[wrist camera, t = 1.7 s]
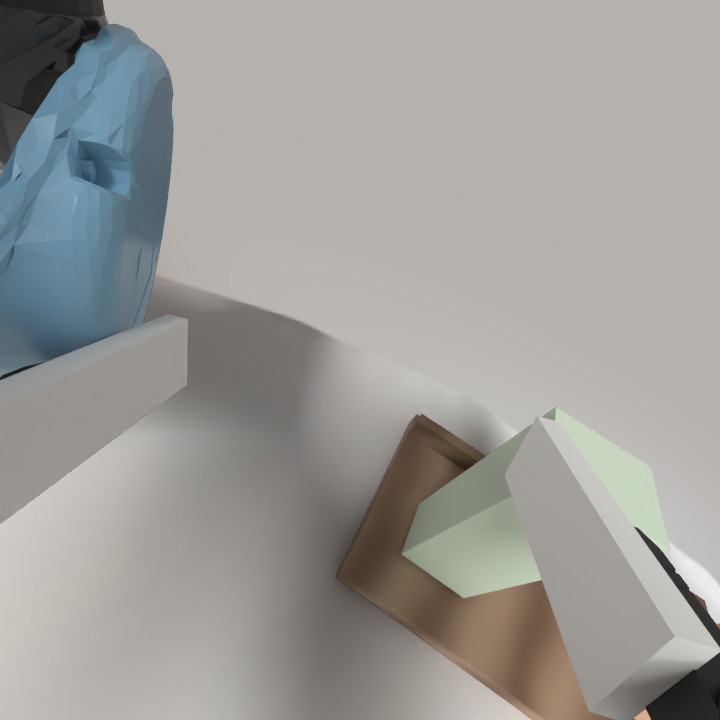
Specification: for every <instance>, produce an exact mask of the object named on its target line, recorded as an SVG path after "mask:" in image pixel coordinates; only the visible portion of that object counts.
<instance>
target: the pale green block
mask: <svg viewBox="0 0 720 720" xmlns="http://www.w3.org/2000/svg"><path fill="white" fill-rule="evenodd" d="M543 418H546V419H550V420H554V421H557V422H559V423H560V424H561V425H562V427H563V428H564V430H565V431H566V432H567V434H568V435H569V437H570V438H571V439H572V441H573V442H574V444H575V445H576V447H577V448H578V449H579V451H580V452H581V454H582V455H583V456H584V458H585V459H586V461H587V462H588V463H589V465H590V466H591V468H592V469H593V470H594V472H595V473H596V475H597V476H598V477H599V479H600V480H601V482H602V483H603V484H604V486H605V487H606V489H607V490H608V491H609V493H610V494H611V496H612V497H613V498H614V500H615V501H616V503H617V504H618V505H619V507H620V508H621V510H622V511H623V513H624V514H625V515H626V517H627V518H628V520H629V521H630V522H631V524H632V525H633V527H637V528H639V529H640V530H641V531H642V532H643V533H644V534H645V535H646V536H647V537H648V538H649V539H651V540H652V541H653V542H654V543H655V544H656V545H657V546H658V547H659V548H660V549H661V551H662V552H663V551H668V550H670V547H669V542H668V538H667V534H666V530H665V526H664V521H663V517H662V512H661V508H660V504H659V500H658V496H657V491H656V487H655V483H654V479H653V474H652V471H651V467H649V466H648V465H646V464H645V463H643V462H642V461H640V460H638V459H637V458H635V457H634V456H632V455H631V454H629V453H627V452H626V451H624V450H623V449H621V448H619V447H618V446H616V445H615V444H613V443H612V442H610V441H608V440H607V439H605V438H604V437H602V436H601V435H599V434H597V433H596V432H594V431H592V430H591V429H589V428H588V427H586V426H585V425H583V424H582V423H580V422H578V421H577V420H575V419H574V418H572V417H570V416H569V415H567V414H566V413H564V412H563V411H561V410H559V409H558V408H556V407H555V408H554V409H552V410H551V411H550V412H548V413H547V414H545V415H544V416H543ZM531 426H532V424H531V425H530V426H528V427H527V428H525V429H524V430H523V431H521V432H520V433H518V434H517V435H516V436H514V437H513V438H511V439H510V440H509V441H507V442H506V443H504V444H503V445H501V446H500V447H499V448H497V449H496V450H494V451H493V452H492V453H490V454H489V455H487V456H486V457H484V458H483V459H482V460H480V461H479V462H477V463H476V464H475V465H473V466H472V467H470V468H469V469H467V470H466V471H465V472H463V473H462V474H460V475H459V476H458V477H456V478H455V479H453V480H452V481H450V482H449V483H448V484H446V485H445V486H443V487H442V488H441V489H439V490H438V491H436V492H435V493H433V494H432V495H431V496H429V497H428V498H426V499H425V500H424V501H422V502H421V503H419V505H418V508H417V511H416V514H415V516H414V519H413V522H412V525H411V527H410V530H409V533H408V536H407V539H406V541H405V544H404V547H403V550H402V552H401V554H402V555H403V556H405V557H406V558H408V559H409V560H410V561H412V562H413V563H415V564H416V565H418V566H419V567H420V568H422V569H423V570H425V571H426V572H427V573H429V574H430V575H432V576H433V577H434V578H436V579H437V580H439V581H440V582H442V583H443V584H444V585H446V586H447V587H449V588H450V589H451V590H453V591H454V592H456V593H457V594H459V595H460V596H461V597H463V598H467V597H471V596H475V595H480V594H484V593H488V592H493V591H497V590H501V589H505V588H510V587H514V586H518V585H522V584H527V583H531V582H535V581H540V580H542V579H541V576H540V574H539V571H538V568H537V565H536V562H535V559H534V557H533V554H532V551H531V548H530V545H529V543H528V540H527V537H526V534H525V531H524V529H523V526H522V523H521V520H520V517H519V514H518V512H517V509H516V506H515V503H514V500H513V498H512V495H511V492H510V489H509V486H508V484H507V481H506V478H505V473H506V471H507V470H508V468H509V466H510V464H511V462H512V461H513V459H514V457H515V455H516V453H517V452H518V450H519V448H520V446H521V444H522V442H523V441H524V439H525V437H526V435H527V433H528V432H529V430H530V428H531Z"/></svg>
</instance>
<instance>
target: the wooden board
mask: <svg viewBox="0 0 720 720" xmlns="http://www.w3.org/2000/svg"><path fill="white" fill-rule="evenodd" d="M484 457H486V456H485V455H483V454H482V453H480V452H479V451H477V450H476V449H474V448H473V447H471V446H470V445H468V444H467V443H465V442H464V441H462V440H461V439H459V438H458V437H456V436H455V435H453V434H452V433H450V432H449V431H447V430H446V429H444V428H443V427H441V426H440V425H438V424H436V423H435V422H433V421H432V420H430V419H429V418H427V417H426V416H424V415H423V414H422V415H421V416H419V415H416V416H415V417H414V418H413V419H412V420H411V422H410V423H409V425H408V427H407V429H406V431H405V433H404V436H403V438H402V440H401V442H400V444H399V446H398V448H397V450H396V452H395V454H394V456H393V458H392V460H391V463H390V465H389V467H388V469H387V471H386V473H385V475H384V477H383V479H382V481H381V483H380V485H379V488H378V490H377V492H376V494H375V496H374V498H373V500H372V502H371V504H370V506H369V508H368V510H367V512H366V515H365V517H364V519H363V521H362V523H361V525H360V527H359V529H358V531H357V533H356V535H355V537H354V540H353V542H352V544H351V546H350V548H349V550H348V552H347V554H346V556H345V558H344V560H343V562H342V565H341V567H340V569H339V571H338V573H337V575H336V577H337V578H338V579H340V580H341V581H343V582H344V583H345V584H347V585H348V586H349V587H351V588H352V589H354V590H355V591H356V592H358V593H359V594H360V595H362V596H363V597H365V598H366V599H367V600H369V601H370V602H371V603H373V604H374V605H376V606H377V607H378V608H380V609H381V610H382V611H384V612H385V613H387V614H388V615H389V616H391V617H392V618H393V619H395V620H396V621H398V622H399V623H400V624H402V625H403V626H404V627H406V628H407V629H409V630H410V631H411V632H413V633H414V634H415V635H417V636H418V637H420V638H421V639H422V640H424V641H425V642H426V643H428V644H429V645H431V646H432V647H433V648H435V649H436V650H437V651H439V652H440V653H441V654H443V655H444V656H446V657H447V658H448V659H450V660H451V661H452V662H454V663H455V664H457V665H458V666H459V667H461V668H462V669H463V670H465V671H466V672H468V673H469V674H470V675H472V676H473V677H474V678H476V679H477V680H479V681H480V682H481V683H483V684H484V685H485V686H487V687H488V688H490V689H491V690H492V691H494V692H495V693H496V694H498V695H499V696H501V697H502V698H503V699H505V700H506V701H507V702H509V703H510V704H512V705H513V706H514V707H516V708H517V709H518V710H520V711H521V712H523V713H524V714H525V715H527V716H528V717H529V718H531V719H532V720H614V719H611V718H608V717H605V716H601V715H598V714H595V713H592V712H589V711H588V709H587V706H586V703H585V700H584V697H583V695H582V692H581V689H580V686H579V683H578V680H577V678H576V675H575V672H574V669H573V666H572V664H571V661H570V658H569V655H568V652H567V650H566V647H565V644H564V641H563V638H562V635H561V633H560V630H559V627H558V624H557V621H556V619H555V616H554V613H553V610H552V607H551V605H550V602H549V599H548V596H547V593H546V590H545V588H544V585H543V582H542V580H540V581H535V582H531V583H527V584H522V585H518V586H514V587H510V588H505V589H501V590H497V591H493V592H488V593H484V594H480V595H475V596H471V597H467V598H463V597H461V596H460V595H459V594H457V593H456V592H454V591H453V590H451V589H450V588H449V587H447V586H446V585H444V584H443V583H442V582H440V581H439V580H437V579H436V578H434V577H433V576H432V575H430V574H429V573H427V572H426V571H425V570H423V569H422V568H420V567H419V566H418V565H416V564H415V563H413V562H412V561H410V560H409V559H408V558H406V557H405V556H403V555H402V554H401V552H402V550H403V547H404V544H405V541H406V539H407V536H408V533H409V530H410V527H411V525H412V522H413V519H414V516H415V514H416V511H417V508H418V505H419V503H421V502H422V501H424V500H425V499H426V498H428V497H429V496H431V495H432V494H433V493H435V492H436V491H438V490H439V489H441V488H442V487H443V486H445V485H446V484H448V483H449V482H450V481H452V480H453V479H455V478H456V477H458V476H459V475H460V474H462V473H463V472H465V471H466V470H467V469H469V468H470V467H472V466H473V465H475V464H476V463H477V462H479V461H480V460H482V459H483V458H484ZM689 592H691V591H689ZM691 593H692V592H691ZM693 594H694V593H693ZM694 595H695V594H694ZM695 596H696V598H697V599H698V600H699V602H700V603H701V604H702V606H703V607H704V608H705V610H706V611H707V607H706V603H705V600H703V599H701V598H700V597H698V596H697V595H695ZM707 612H708V611H707ZM632 720H635V719H634V718H633V719H632Z"/></svg>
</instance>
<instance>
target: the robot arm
mask: <svg viewBox="0 0 720 720" xmlns="http://www.w3.org/2000/svg"><path fill="white" fill-rule="evenodd" d="M172 98H173V89H172V81H171V77H170V73H169V71H168V69H167V66H166V64H165V63H164V60H163V59H162V57H161V56H160V55H159V54H158V53H157V52H156V51H155V50H154V49H152V48H151V47H149V46H148V45H146V44H145V43H143V42H142V41H140V39H139V38H138V36H137V35H136V33H135V32H133V31H132V29H129V28H126V27H123V26H121V25H118V24H108V22H107V19H106V16H105V11H104V7H103V0H0V524H1V523H2V522H4V521H5V520H6V519H8V518H9V517H10V516H12V515H13V514H14V513H16V512H17V511H19V510H20V509H21V508H23V507H24V506H25V505H27V504H28V503H29V502H31V501H32V500H33V499H35V498H36V497H37V496H39V495H40V494H41V493H43V492H44V491H45V490H47V489H48V488H49V487H51V486H52V485H53V484H55V483H56V482H57V481H59V480H60V479H61V478H63V477H64V476H65V475H67V474H68V473H69V472H71V471H72V470H73V469H75V468H76V467H77V466H79V465H80V464H82V463H83V462H84V461H86V460H87V459H88V458H90V457H91V456H92V455H94V454H95V453H96V452H98V451H99V450H100V449H102V448H103V447H104V446H106V445H107V444H108V443H110V442H111V441H112V440H114V439H115V438H116V437H118V436H119V435H120V434H122V433H123V432H124V431H126V430H127V429H128V428H130V427H131V426H132V425H134V424H135V423H136V422H138V421H139V420H140V419H142V418H143V417H145V416H146V415H147V414H149V413H150V412H151V411H153V410H154V409H155V408H157V407H158V406H159V405H161V404H162V403H163V402H165V401H166V400H167V399H169V398H170V397H171V396H173V395H174V394H175V393H177V392H178V391H179V390H181V389H182V388H183V387H185V386H186V385H187V368H188V319H186V318H182V317H179V316H175V315H172V314H166V315H163V316H161V317H158V318H156V319H153V320H151V321H148V322H146V323H143V321H144V318H145V315H146V311H147V307H148V303H149V299H150V295H151V290H152V286H153V281H154V277H155V273H156V267H157V263H158V256H159V252H160V246H161V240H162V234H163V227H164V222H165V215H166V208H167V199H168V191H169V183H170V174H171V163H172V150H173V118H172ZM505 478H506V481H507V484H508V486H509V489H510V492H511V495H512V498H513V500H514V503H515V506H516V509H517V512H518V514H519V517H520V520H521V523H522V526H523V529H524V531H525V534H526V537H527V540H528V543H529V545H530V548H531V551H532V554H533V557H534V559H535V562H536V565H537V568H538V571H539V574H540V576H541V579H542V582H543V585H544V588H545V590H546V593H547V596H548V599H549V602H550V605H551V607H552V610H553V613H554V616H555V619H556V621H557V624H558V627H559V630H560V633H561V635H562V638H563V641H564V644H565V647H566V650H567V652H568V655H569V658H570V661H571V664H572V666H573V669H574V672H575V675H576V678H577V680H578V683H579V686H580V689H581V692H582V695H583V697H584V700H585V703H586V706H587V709H588V711H589V712H592V713H595V714H598V715H601V716H605V717H608V718H611V719H614V720H632V719H633V718H635V717H636V716H637V715H639V714H640V713H641V712H643V711H644V710H645V709H646V710H647V712H648V715H649V717H650V719H651V720H720V629H719V627H718V626H717V625H716V623H715V622H714V621H713V619H712V618H711V617H710V615H709V614H708V612H707V611H706V610H705V608H704V607H703V606H702V604H701V603H700V602H699V600H698V599H697V598H696V596H695V595H694V594H693V593H691V592H689V587H688V586H687V584H686V583H685V582H684V580H683V579H682V578H681V576H680V575H679V574H677V573H676V572H675V568H674V567H673V565H672V564H671V563H670V561H669V560H668V559H667V557H666V556H665V555H664V553H663V552H662V551H661V549H660V548H659V547H658V546H657V545H656V544H655V543H654V542H653V541H652V540H651V539H649V538H648V537H647V536H646V535H645V534H644V533H643V532H642V531H641V530H640V529H639V528H637V527H633V525H632V524H631V522H630V521H629V520H628V518H627V517H626V515H625V514H624V513H623V511H622V510H621V508H620V507H619V505H618V504H617V503H616V501H615V500H614V498H613V497H612V496H611V494H610V493H609V491H608V490H607V489H606V487H605V486H604V484H603V483H602V482H601V480H600V479H599V477H598V476H597V475H596V473H595V472H594V470H593V469H592V468H591V466H590V465H589V463H588V462H587V461H586V459H585V458H584V456H583V455H582V454H581V452H580V451H579V449H578V448H577V447H576V445H575V444H574V442H573V441H572V439H571V438H570V437H569V435H568V434H567V432H566V431H565V430H564V428H563V427H562V425H561V424H560V423H559V422H557V421H554V420H550V419H546V418H543V417H539V416H537V417H536V419H535V421H534V423H533V424H532V426H531V428H530V430H529V432H528V433H527V435H526V437H525V439H524V441H523V442H522V444H521V446H520V448H519V450H518V452H517V453H516V455H515V457H514V459H513V461H512V462H511V464H510V466H509V468H508V470H507V471H506V473H505Z"/></svg>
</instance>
